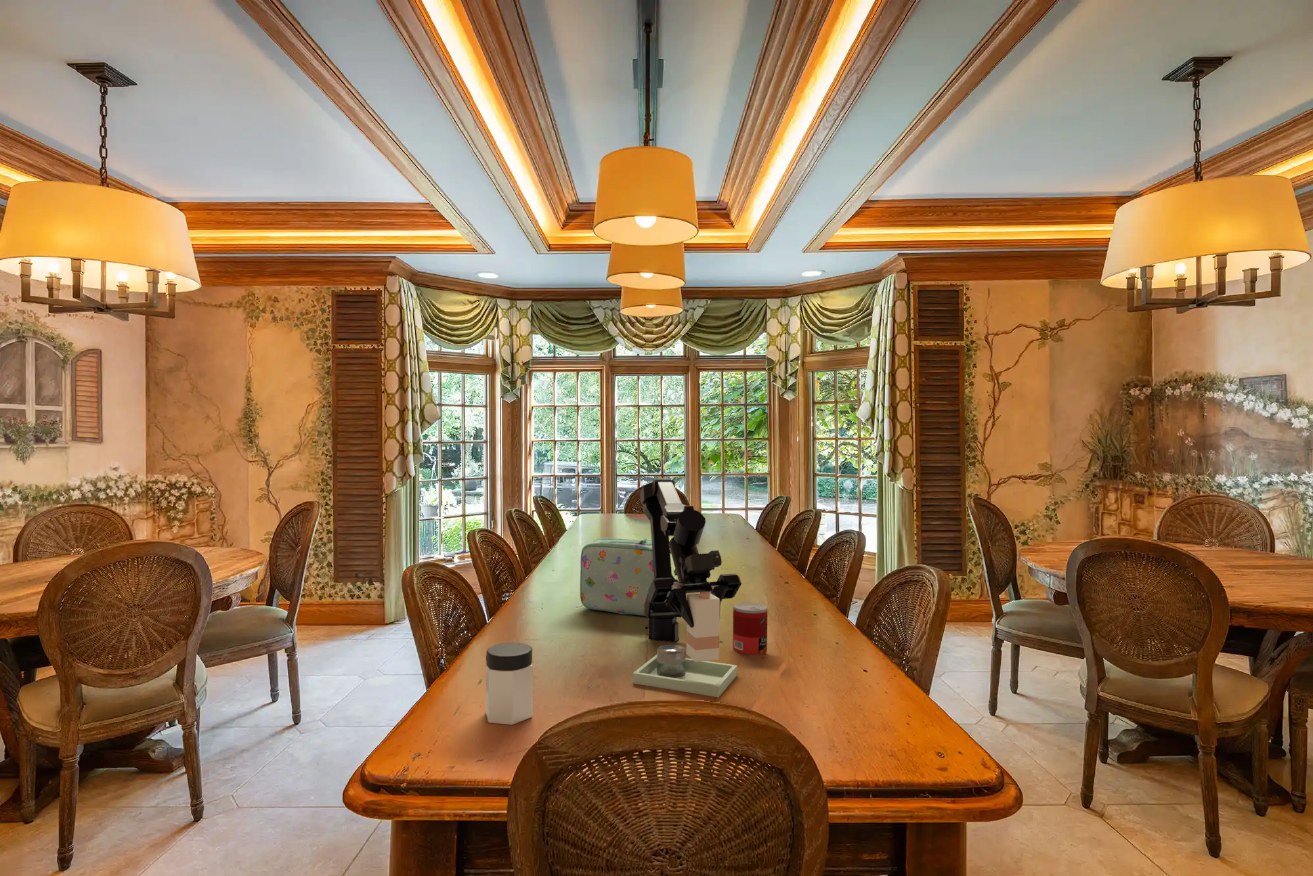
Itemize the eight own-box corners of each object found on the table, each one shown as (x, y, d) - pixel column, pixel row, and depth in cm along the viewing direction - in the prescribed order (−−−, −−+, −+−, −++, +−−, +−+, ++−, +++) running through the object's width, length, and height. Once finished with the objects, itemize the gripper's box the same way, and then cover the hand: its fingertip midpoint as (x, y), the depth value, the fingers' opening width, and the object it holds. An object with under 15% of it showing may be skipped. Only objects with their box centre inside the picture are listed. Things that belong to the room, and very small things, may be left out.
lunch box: (676, 611, 196) (677, 537, 196) (665, 620, 186) (665, 542, 186) (591, 602, 205) (592, 531, 205) (576, 611, 195) (577, 536, 195)
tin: (652, 675, 141) (652, 651, 141) (663, 666, 147) (663, 643, 147) (679, 679, 139) (679, 655, 139) (689, 670, 144) (689, 647, 144)
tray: (632, 688, 137) (632, 673, 137) (657, 667, 149) (657, 653, 149) (718, 702, 130) (718, 686, 130) (737, 679, 142) (737, 665, 142)
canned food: (766, 659, 155) (766, 611, 155) (731, 657, 156) (731, 609, 156) (767, 649, 162) (768, 603, 162) (734, 646, 164) (734, 601, 164)
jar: (514, 702, 129) (515, 638, 129) (542, 713, 124) (543, 648, 124) (474, 716, 122) (475, 650, 122) (502, 729, 117) (503, 660, 117)
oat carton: (686, 653, 138) (687, 589, 137) (709, 651, 139) (710, 588, 139) (695, 661, 133) (696, 595, 133) (719, 659, 134) (719, 593, 134)
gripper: (653, 538, 137) (670, 607, 126) (738, 535, 142) (761, 600, 132) (641, 569, 144) (656, 637, 134) (722, 565, 150) (743, 629, 140)
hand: (705, 625), depth 135 cm, fingers closed on oat carton, 5 cm apart
